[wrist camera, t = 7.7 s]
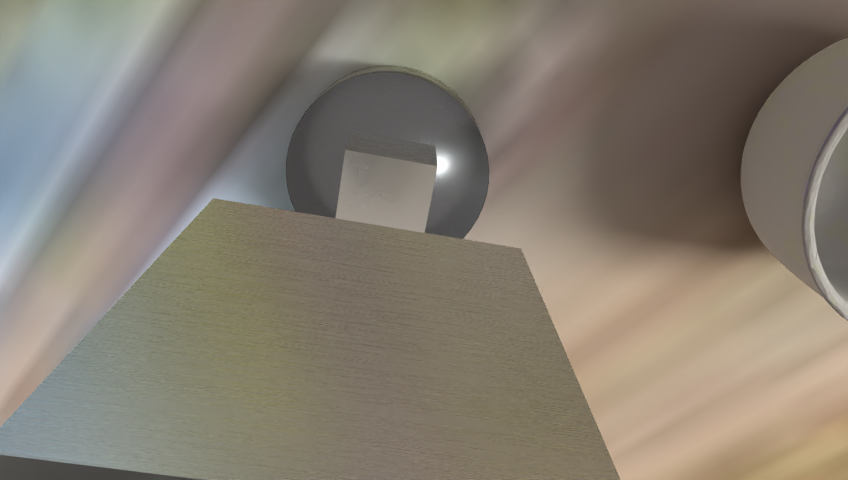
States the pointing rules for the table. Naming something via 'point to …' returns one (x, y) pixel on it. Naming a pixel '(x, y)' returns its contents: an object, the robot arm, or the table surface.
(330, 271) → the wood-topped grey cube
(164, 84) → the table surface
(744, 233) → the table surface
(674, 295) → the table surface
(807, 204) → the teacup
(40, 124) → the table surface
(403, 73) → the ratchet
